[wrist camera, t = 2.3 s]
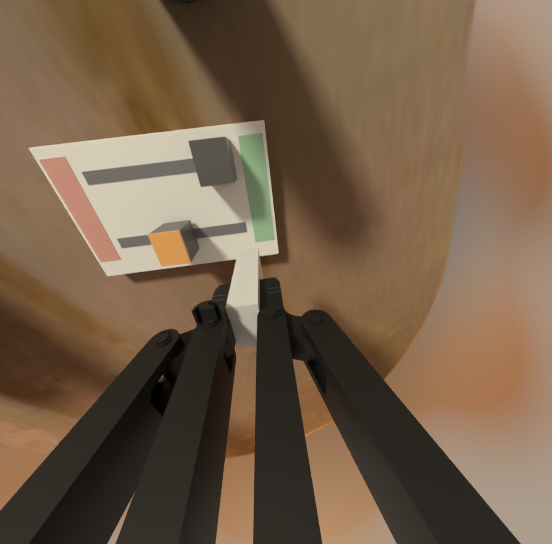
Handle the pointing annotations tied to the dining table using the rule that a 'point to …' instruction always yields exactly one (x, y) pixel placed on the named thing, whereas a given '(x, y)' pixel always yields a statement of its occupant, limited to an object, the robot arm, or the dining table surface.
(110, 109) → the dining table surface
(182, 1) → the travel mug
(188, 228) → the breaker handle
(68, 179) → the board
